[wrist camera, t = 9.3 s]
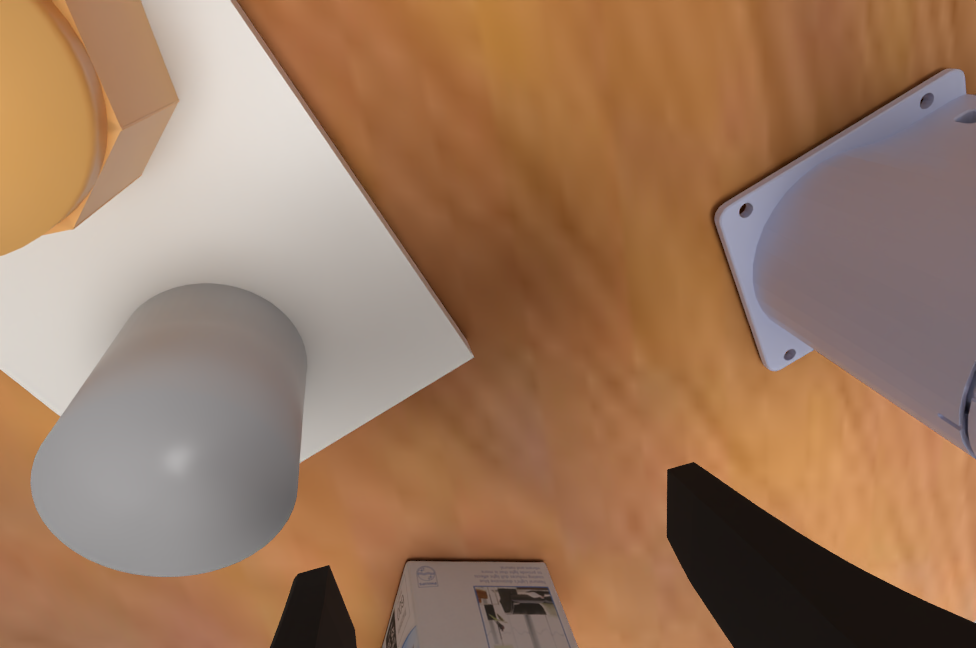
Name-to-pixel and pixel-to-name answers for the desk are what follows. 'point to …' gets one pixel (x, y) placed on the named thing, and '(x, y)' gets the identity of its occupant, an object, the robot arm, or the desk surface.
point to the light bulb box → (477, 607)
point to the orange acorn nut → (74, 110)
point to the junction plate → (235, 231)
